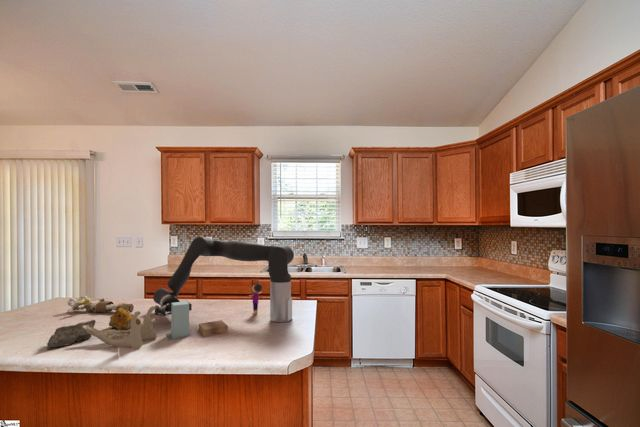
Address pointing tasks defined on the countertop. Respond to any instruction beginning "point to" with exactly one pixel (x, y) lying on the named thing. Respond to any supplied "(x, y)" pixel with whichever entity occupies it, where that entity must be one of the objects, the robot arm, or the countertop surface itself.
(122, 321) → the rock
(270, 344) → the countertop surface
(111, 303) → the figurine
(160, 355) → the countertop surface
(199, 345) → the countertop surface
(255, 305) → the toy
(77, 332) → the rock
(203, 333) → the stand
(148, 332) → the jawbone
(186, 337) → the gray tile
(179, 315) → the block
